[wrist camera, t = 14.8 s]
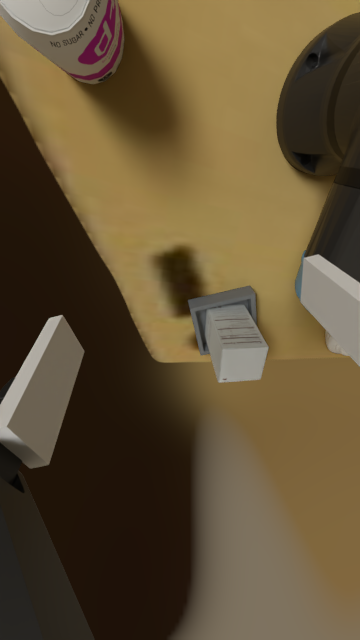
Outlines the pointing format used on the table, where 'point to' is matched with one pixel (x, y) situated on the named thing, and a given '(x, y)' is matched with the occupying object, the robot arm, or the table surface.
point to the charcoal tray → (214, 300)
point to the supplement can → (71, 34)
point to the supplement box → (234, 343)
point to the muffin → (334, 345)
